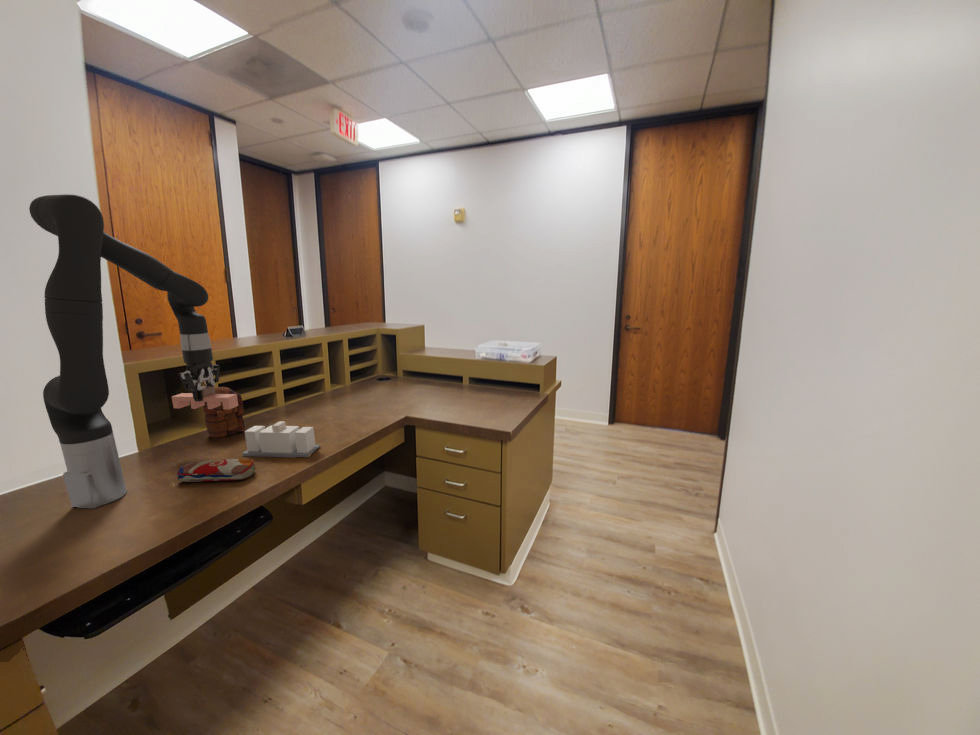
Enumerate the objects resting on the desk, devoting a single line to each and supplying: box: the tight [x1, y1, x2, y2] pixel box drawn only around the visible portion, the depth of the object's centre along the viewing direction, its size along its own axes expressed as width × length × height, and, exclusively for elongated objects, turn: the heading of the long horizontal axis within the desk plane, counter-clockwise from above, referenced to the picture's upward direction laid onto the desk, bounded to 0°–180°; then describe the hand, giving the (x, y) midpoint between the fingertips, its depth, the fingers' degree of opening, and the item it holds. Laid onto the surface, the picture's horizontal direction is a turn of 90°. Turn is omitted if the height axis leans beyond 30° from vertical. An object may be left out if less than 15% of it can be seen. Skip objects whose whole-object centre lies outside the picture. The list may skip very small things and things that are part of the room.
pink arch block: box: [171, 385, 238, 410], centre depth 122 cm, size 4×19×6 cm, turn 87°
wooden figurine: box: [202, 386, 246, 438], centre depth 138 cm, size 12×6×18 cm, turn 134°
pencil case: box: [176, 458, 256, 483], centre depth 108 cm, size 11×20×5 cm, turn 79°
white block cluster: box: [241, 420, 321, 458], centre depth 124 cm, size 8×22×10 cm, turn 87°
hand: (205, 398), depth 122 cm, fingers closed on pink arch block, 4 cm apart
